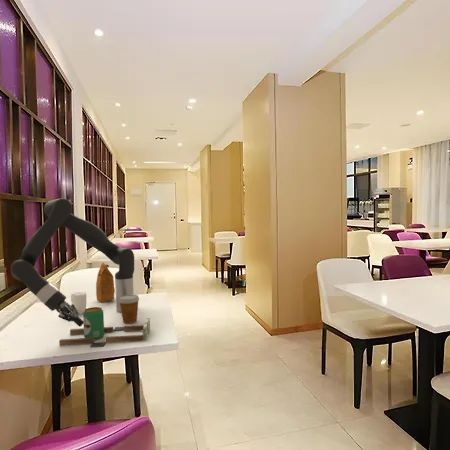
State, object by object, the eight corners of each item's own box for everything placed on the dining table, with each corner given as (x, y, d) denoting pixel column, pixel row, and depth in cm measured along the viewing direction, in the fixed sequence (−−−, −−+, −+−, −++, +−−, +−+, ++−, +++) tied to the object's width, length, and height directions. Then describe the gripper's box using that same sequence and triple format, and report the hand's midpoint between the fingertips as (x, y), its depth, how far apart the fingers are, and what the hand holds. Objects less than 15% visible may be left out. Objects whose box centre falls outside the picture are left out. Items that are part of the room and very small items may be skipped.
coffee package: (111, 296, 222) (110, 261, 221) (116, 300, 212) (114, 263, 210) (95, 298, 218) (93, 263, 217) (98, 303, 207) (96, 265, 206)
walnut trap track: (74, 330, 161) (73, 319, 161) (151, 326, 164) (150, 315, 164) (55, 349, 139) (55, 336, 139) (144, 344, 142) (143, 331, 142)
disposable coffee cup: (143, 319, 175) (142, 294, 174) (133, 325, 166) (132, 299, 165) (126, 318, 178) (125, 294, 177) (115, 324, 168) (114, 298, 168)
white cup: (87, 313, 188) (86, 294, 187) (71, 315, 185) (70, 296, 184) (87, 309, 195) (86, 291, 195) (71, 311, 192) (70, 292, 192)
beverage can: (80, 338, 151) (79, 310, 150) (97, 332, 157) (96, 305, 157) (91, 342, 146) (89, 313, 145) (108, 336, 152) (107, 308, 152)
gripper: (50, 293, 142) (83, 323, 144) (63, 286, 156) (93, 313, 157) (37, 307, 142) (70, 336, 144) (51, 299, 156) (81, 326, 157)
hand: (82, 324), depth 150 cm, fingers closed
